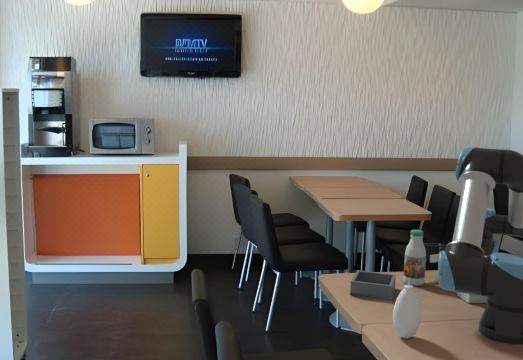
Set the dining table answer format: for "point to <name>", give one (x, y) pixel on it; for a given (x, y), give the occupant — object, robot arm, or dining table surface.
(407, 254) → the milk bottle
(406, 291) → the white squeeze bottle
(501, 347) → the dining table surface
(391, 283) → the box
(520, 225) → the robot arm
